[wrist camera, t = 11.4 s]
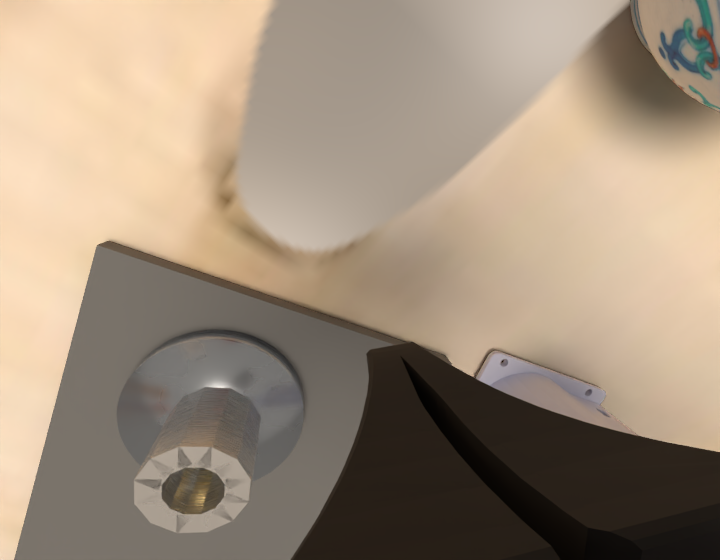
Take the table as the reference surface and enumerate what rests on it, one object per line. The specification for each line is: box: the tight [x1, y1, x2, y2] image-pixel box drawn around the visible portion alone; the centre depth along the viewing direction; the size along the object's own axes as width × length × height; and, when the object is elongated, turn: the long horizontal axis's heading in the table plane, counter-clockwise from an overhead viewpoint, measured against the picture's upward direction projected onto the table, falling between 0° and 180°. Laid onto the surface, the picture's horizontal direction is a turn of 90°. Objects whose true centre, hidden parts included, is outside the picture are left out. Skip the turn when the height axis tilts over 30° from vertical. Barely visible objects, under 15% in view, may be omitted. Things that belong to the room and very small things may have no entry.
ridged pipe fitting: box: [134, 387, 261, 533], centre depth 16 cm, size 4×4×4 cm
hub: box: [117, 329, 304, 482], centre depth 18 cm, size 9×9×3 cm
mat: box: [14, 241, 451, 560], centre depth 22 cm, size 19×25×1 cm
